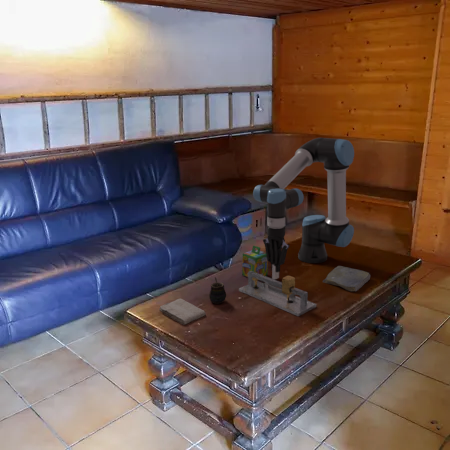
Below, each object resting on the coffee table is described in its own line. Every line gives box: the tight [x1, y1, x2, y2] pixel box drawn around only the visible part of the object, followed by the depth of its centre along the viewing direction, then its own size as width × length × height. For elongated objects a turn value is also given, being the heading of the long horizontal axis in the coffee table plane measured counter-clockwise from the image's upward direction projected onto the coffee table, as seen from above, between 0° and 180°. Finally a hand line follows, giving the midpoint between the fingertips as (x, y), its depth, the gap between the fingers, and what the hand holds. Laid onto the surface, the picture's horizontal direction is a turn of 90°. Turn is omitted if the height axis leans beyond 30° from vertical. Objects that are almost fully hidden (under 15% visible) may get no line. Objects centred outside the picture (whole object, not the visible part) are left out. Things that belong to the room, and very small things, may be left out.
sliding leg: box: [281, 275, 296, 301], centre depth 199 cm, size 4×4×10 cm
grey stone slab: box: [322, 265, 371, 292], centre depth 221 cm, size 20×5×17 cm
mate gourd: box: [209, 276, 227, 305], centre depth 202 cm, size 7×8×10 cm
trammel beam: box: [238, 271, 317, 317], centre depth 204 cm, size 12×34×8 cm, turn 43°
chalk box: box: [241, 245, 269, 278], centre depth 228 cm, size 9×9×15 cm
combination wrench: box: [263, 282, 299, 300], centre depth 208 cm, size 4×1×20 cm
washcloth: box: [159, 298, 206, 325], centre depth 194 cm, size 12×18×3 cm, turn 44°
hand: (275, 278), depth 203 cm, fingers closed
